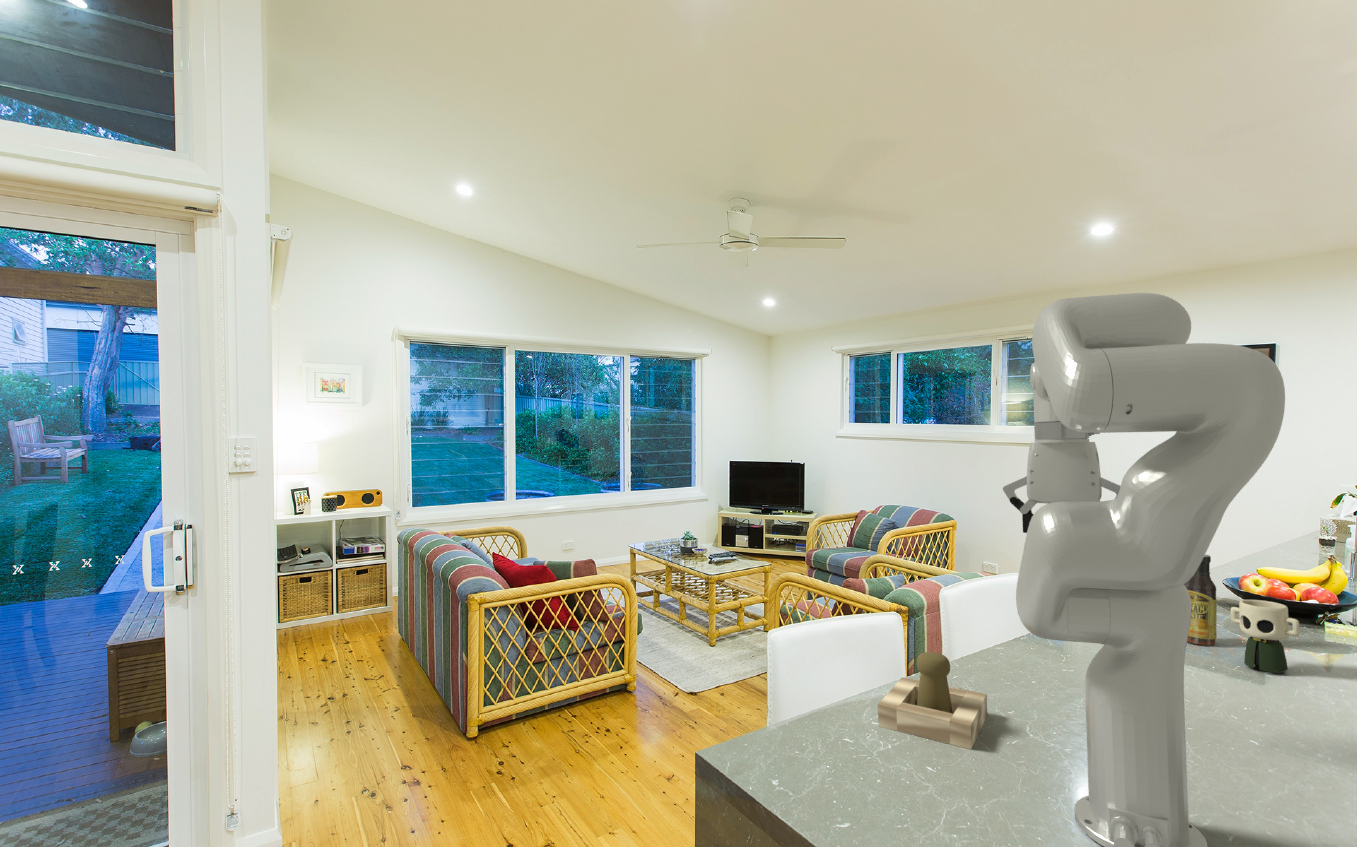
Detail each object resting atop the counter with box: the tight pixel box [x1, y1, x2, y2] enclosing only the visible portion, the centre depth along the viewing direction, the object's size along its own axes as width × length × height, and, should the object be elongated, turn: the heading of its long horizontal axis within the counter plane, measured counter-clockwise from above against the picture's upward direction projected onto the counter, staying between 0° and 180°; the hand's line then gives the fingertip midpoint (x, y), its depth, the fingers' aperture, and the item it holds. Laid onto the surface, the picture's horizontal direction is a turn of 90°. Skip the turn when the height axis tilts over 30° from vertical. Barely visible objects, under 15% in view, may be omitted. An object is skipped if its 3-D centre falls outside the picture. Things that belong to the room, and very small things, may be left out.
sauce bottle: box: [1184, 553, 1218, 647], centre depth 140 cm, size 6×6×20 cm
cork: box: [916, 651, 953, 714], centre depth 104 cm, size 6×6×11 cm
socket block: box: [877, 677, 988, 750], centre depth 104 cm, size 14×14×4 cm
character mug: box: [1230, 599, 1301, 673], centre depth 124 cm, size 11×7×13 cm, turn 22°
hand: (1064, 539), depth 100 cm, fingers open, 9 cm apart
